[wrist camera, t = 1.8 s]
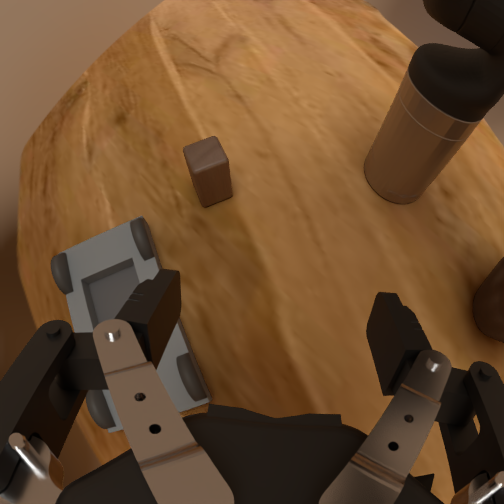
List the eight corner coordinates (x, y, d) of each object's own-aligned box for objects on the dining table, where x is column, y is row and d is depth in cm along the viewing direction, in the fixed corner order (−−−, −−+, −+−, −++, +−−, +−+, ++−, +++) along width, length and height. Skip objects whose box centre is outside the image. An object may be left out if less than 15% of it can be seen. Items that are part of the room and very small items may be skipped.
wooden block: (192, 184, 41) (181, 146, 33) (221, 172, 41) (215, 133, 34) (203, 209, 39) (192, 174, 32) (233, 197, 40) (229, 160, 32)
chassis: (67, 260, 37) (47, 246, 33) (148, 224, 39) (135, 206, 34) (117, 429, 31) (99, 436, 26) (212, 399, 32) (205, 405, 27)
